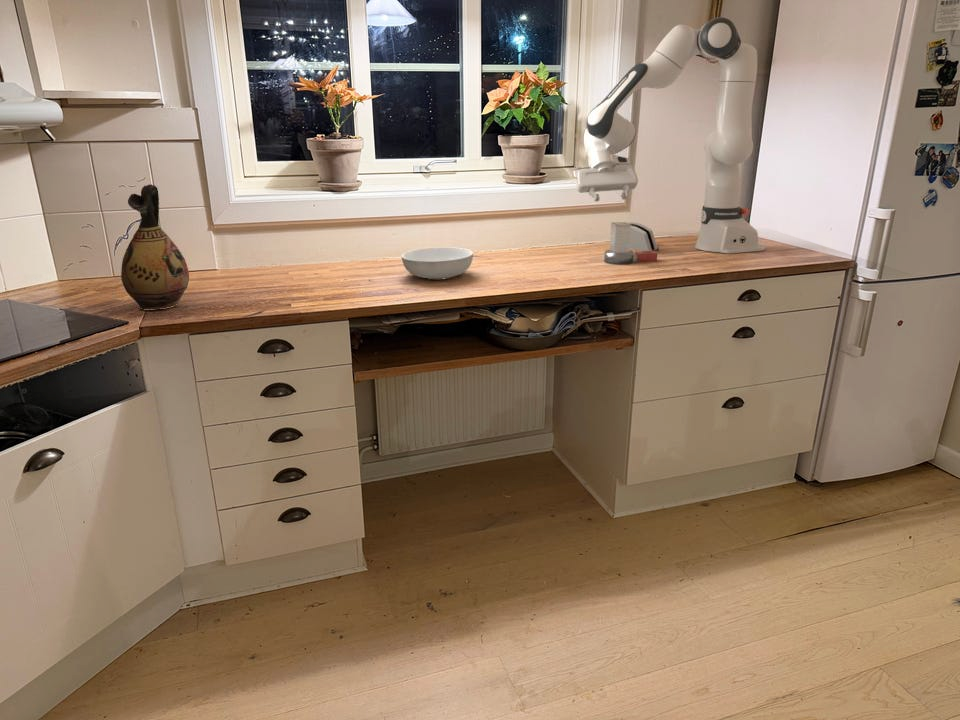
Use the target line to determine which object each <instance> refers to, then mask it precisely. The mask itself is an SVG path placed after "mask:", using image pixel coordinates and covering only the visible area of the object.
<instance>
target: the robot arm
mask: <svg viewBox="0 0 960 720" xmlns="http://www.w3.org/2000/svg"><path fill="white" fill-rule="evenodd" d="M695 56H696V57H700V58H703V59H706V60H718V63H719V67H720V68H719V69H720V72H719V79H718V84H717V85H718V86H717V93H716V100H715V108H714V109H715V115H716V129H715V130H713V131H711V133H709V134H708V135H707V136H706V138H705V140H704V146H703V148H704V159H705V161H704V162H705V163H704V166H705V190H704V191H705V193H704V201H703V202H704V203H703V205H702V209H701V216H700V218H701V219H700V223H701V224H700V225H701V226H700V230H699V235H698V238H697V241H696V243H695V245H694V248H695V249H697V250H699V251H700V250H701V251H706V252H713V253H722V254H737V253H739V254H740V253H751V252H760V251H761V252H762V251H765V246H764V245H763V244H760V243H759V235H758V231H757V230H756V228H755V227H754V226H753V225H751V224H750V223H749V222H748V221H746V219H744V218H743V215H744V216H748V215H749V214H750V210H749V209H748V208H742V207H740V206H739V205H740V197H741V189H742V180H741V177H740V176H741V174H740V164H742V163H743V162H744V163H745V161H747V160H748V159H749V158H750V157H751V155H752V154H753V152H754V151H753V150H754V142H753V136H752V134H753V132H752V131H753V129H752V126H753V125H752V123H753V122H752V121H753V120H752V117H753V116H752V113H753V112H752V111H753V101H754V95H755V89H756V82H757V81H756V80H757V75H758V73H757V72H758V52H757V49H756V48H755V46H753V45H751V44H749V43H745V42H744V43H743V42H742V40H741V37H740V35H739V32H738V29H737V27H736V25H735V23H734V22H733V21H732V20H731V19H729V18H727V17H724V16H718V17H714V18H712V19H710V20H709V21H707V22H705V24H704V25H703V26H701V27H700V28H699V29H695V28H693V27H691V25H690V26H689V25H687V24H680V23H679V24H677V25H675V26H674V27H673V28H672V29H671V30H670V31H669V32H668V33H667V34H666V35H665V36H664V37H663V38H662V40H661V41H660V42H659V44H658V45H657V47H655V49H654V51H653V52H652V53H651V55H649V57H648V58H647V59H645V60H644V61H643V62H641V63H640V62H639V63H637V64H635V65H634V66H633V67H631V69H629V70H628V71H627V72H626V73H625V75H624V76H623V77H622V78H621V79H620V80H619V81H618V83H617V84H616V85H615V86H614V87H613V88H612V89H611V90H610V91H609V92H608V94H607V95H606V96H605V98H603V100H601V102H600V103H598V104H597V105H596V106H595V107H594V108H592V110H591V111H590V112H589V114H588V115H587V118H586V128H585V131H584V135H583V146H584V151H585V155H586V156H587V164H588V166H585V167H577V168H576V169H574V171H573V176H574V178H575V179H576V182H575V183H576V190H577V192H579V193H581V194H583V193H588V195H589V196H590V197H591V198H592V199H593V201H594V202H599V201H600V194H599V192H609V191H622V193H621V195H620V196H621V200H623V201H624V200H627V199H628V190H635V189H636V188H637V185H638V183H639V179H638V175H637V173H636V170H635V168H634V167H633V165H631V160H630V158H629V157H625V156H620V155H616V154H618V153H620V152H622V151H624V150H626V149H627V148H628V147H630V146H631V145H632V143H633V142H634V140H635V137H636V133H637V130H636V126H635V125H634V123H633V122H631V121H630V120H628V119H627V118H626V117H624V116H622V115H621V114H619V112H618V111H619V110H620V108H621V107H622V106H623V105H624V103H626V101H628V99H629V98H630V97H631V96H632V95H633V94H634V93H635V92H636V91H638V90H640V89H643V88H644V89H645V88H648V89H649V88H650V89H664V88H668V87H670V86H672V84H673V83H675V82H676V81H677V79H678V78H679V76H680V75H681V74H682V72H683V70H684V69H685V68H686V66H687V65H688V63H690V61H691V60H692V59H693V58H694V57H695ZM597 192H598V193H597Z"/></svg>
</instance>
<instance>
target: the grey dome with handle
mask: <svg viewBox="0 0 960 720" xmlns="http://www.w3.org/2000/svg"><path fill="white" fill-rule="evenodd" d="M658 254H659V253H658V251H656V250H652V251H640V250H637V251H633V250H630V249H629V253H624V254H614V253H612V252H611V251H610V249H607V250H605V251H604V259H603V261H604V263H606V264H610V265H630V264H633V263H636V262H637V263H641V262H643V263H644V262H657V261H658Z"/></svg>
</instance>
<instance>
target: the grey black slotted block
mask: <svg viewBox="0 0 960 720" xmlns="http://www.w3.org/2000/svg"><path fill="white" fill-rule="evenodd" d="M628 223H629V224H631V233H630V249H631V250H632V249H633V250H637V251H656V252H660V251H661V249H660V248H661V247H660V245H657V243H656V239H655V236H654V235H655V234H654V233H653V231H652V229H651V228H650V227H648V226H646V225H644V224H642V223H638V222H634V221H631V222H628Z"/></svg>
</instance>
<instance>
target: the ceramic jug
mask: <svg viewBox="0 0 960 720" xmlns="http://www.w3.org/2000/svg"><path fill="white" fill-rule="evenodd" d="M159 196H160V195H159V189H158V187H157V186H156V185H154V184H152V183H151V184H147V185H144V186H143V187H142V188H141V190H140V194H137V193H132V194H130V196H128V199H127V204H128V206H129V207H130V208H131V209H133V210H135V211H137V212H139V214H140V219H141V220H140V221H139V225H138V228H137V230H136V231H135V233H134V234H133V236H132V238H131V239H130V241H129V243H128V246H127V248H126V250H125V252H124V255H123V257H122V262H121V272H120V275H121V277H120V279H121V282H122V286H123V287H124V290H125V292H126V293H127V294H128V295H129V297H131V298H132V299H133V300H134V301H135V302H136V303H137V305H138V306H139V307H140V308H142V309H160V308H167V307H171V306H174V305H176V304H178V305H179V302H180V300H181V298H182V296H183V295H184V293H185V291H186V290H187V289H188V286H189V282H190V281H189V280H190V272H189V267H188V264H187V262H186V259H185V257H184V255H183V252H182V251H180V249H179V248H178V245H176V244H175V243H174V241H173V240H172V239H171V237H169V235H168V234H167V233H166V232H165V231H164V230H163V229H162V228H161V227H160V224H159V222H160V221H159V220H160V219H159V218H160V217H159V214H160V213H159V212H160V197H159ZM139 307H138V308H139Z"/></svg>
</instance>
